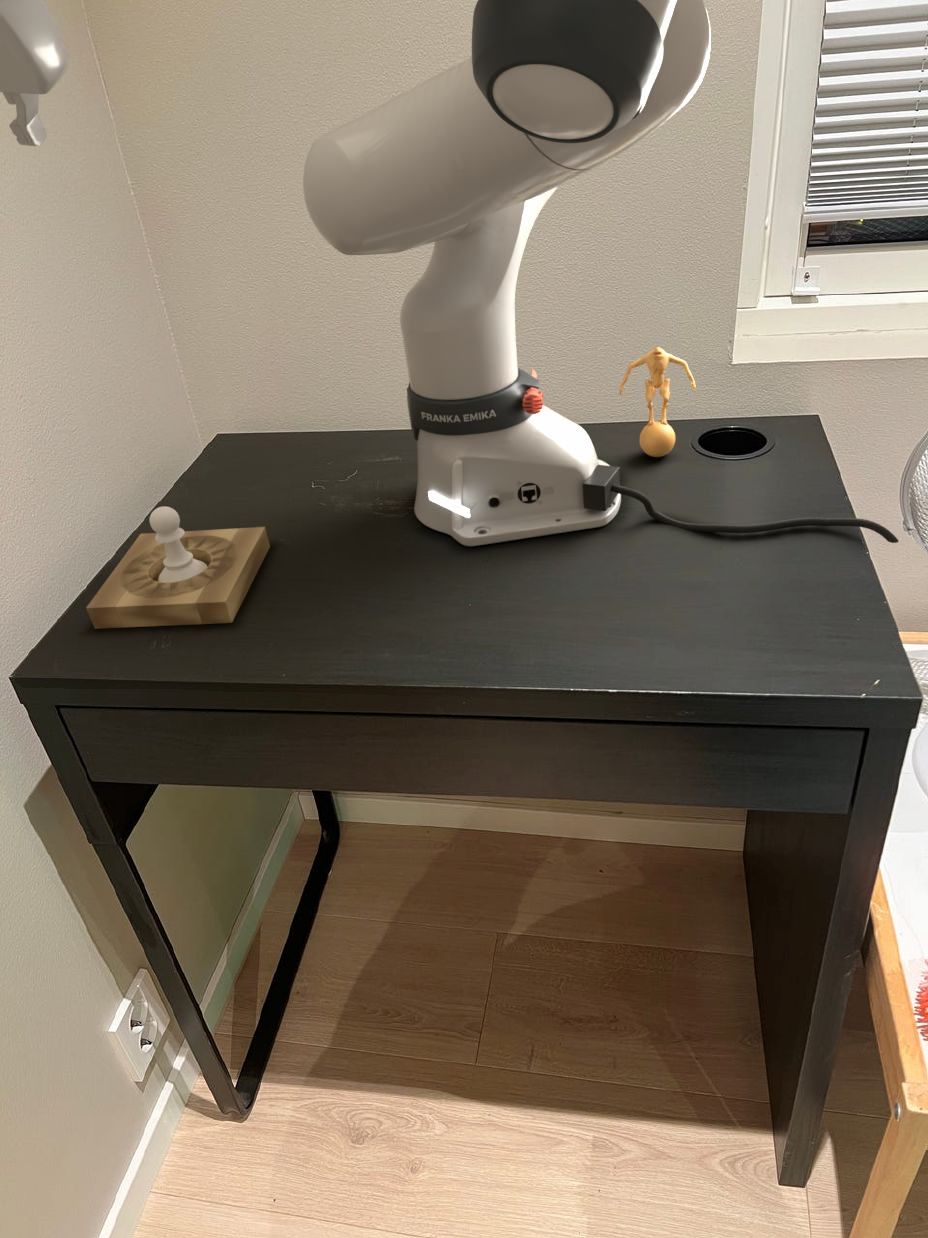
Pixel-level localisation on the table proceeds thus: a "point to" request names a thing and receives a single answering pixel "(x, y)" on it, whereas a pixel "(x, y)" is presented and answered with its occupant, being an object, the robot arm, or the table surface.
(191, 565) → the chess pawn
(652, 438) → the figurine
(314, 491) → the table surface
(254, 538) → the socket pad
